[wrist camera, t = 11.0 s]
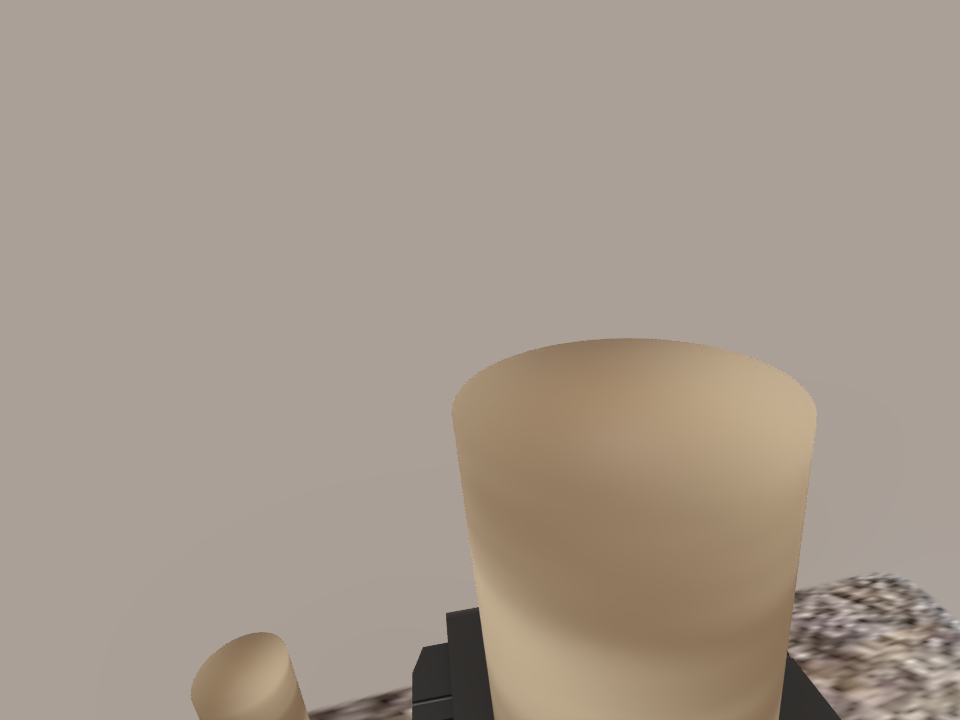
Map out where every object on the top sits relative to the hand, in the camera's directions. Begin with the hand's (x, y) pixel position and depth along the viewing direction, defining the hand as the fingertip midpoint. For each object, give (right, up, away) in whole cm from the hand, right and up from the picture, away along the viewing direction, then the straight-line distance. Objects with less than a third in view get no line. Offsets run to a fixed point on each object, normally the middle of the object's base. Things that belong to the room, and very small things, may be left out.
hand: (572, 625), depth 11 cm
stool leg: (+1, -10, +1) cm, 10 cm away
